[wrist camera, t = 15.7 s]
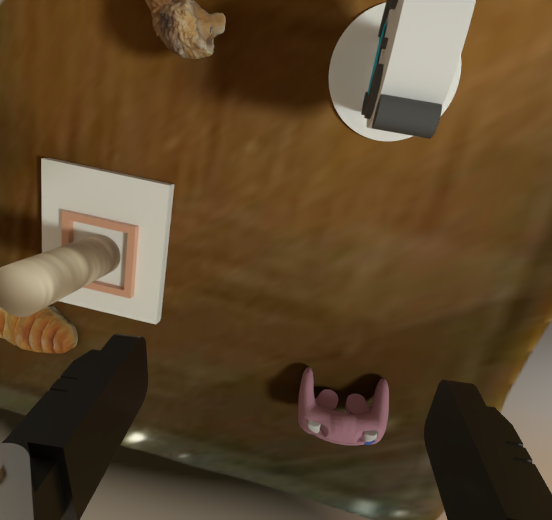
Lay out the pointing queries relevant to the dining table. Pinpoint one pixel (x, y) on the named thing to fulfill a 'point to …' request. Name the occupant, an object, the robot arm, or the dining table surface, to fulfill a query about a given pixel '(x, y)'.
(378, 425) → the video game controller
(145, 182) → the board
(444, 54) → the panda figurine
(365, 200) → the dining table surface
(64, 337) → the pastry
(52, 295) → the maple pin
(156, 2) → the lion figurine
